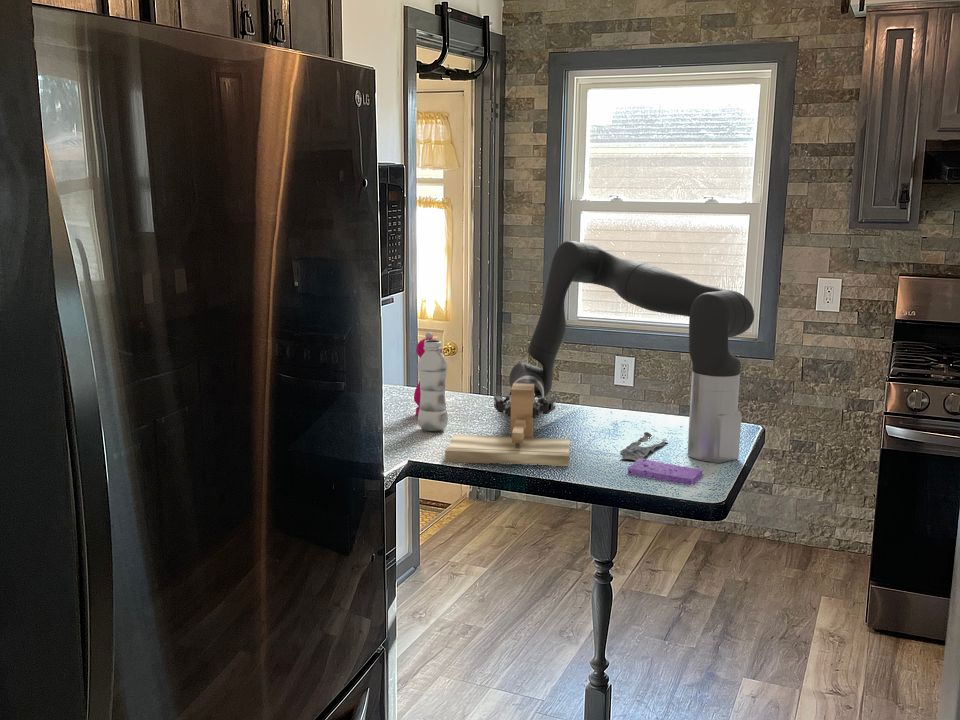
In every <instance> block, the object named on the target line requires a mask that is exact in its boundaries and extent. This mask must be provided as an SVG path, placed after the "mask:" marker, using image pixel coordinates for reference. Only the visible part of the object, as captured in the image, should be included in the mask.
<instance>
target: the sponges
mask: <svg viewBox="0 0 960 720" xmlns="http://www.w3.org/2000/svg"><path fill="white" fill-rule="evenodd" d="M627 475H631V476H635V475H636V477H641V476H642V477H643V478H647V477H650V478H649V479H652V478H655V479H654V480H658V479H659V481H665V482H669V481H671V483H675V482H677V483H676V484H680V483H684V484H683V485H686V484H689V485H688V486H691V485H690V484H694V483H695V484H696V483H697V482H698V481H699V479H700V478H701V477H703V469H700V468H696V467H689V466H682V465H676V464H672V463H666V462H665V463H664V462H662V461H656V460H650V459H645V458H643V459H638V460H637V461H636V460H635V462H633V463H632V464H631V465H629V466H628V467H627ZM695 484H694V485H695Z"/></svg>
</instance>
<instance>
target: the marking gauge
mask: <svg viewBox="0 0 960 720" xmlns="http://www.w3.org/2000/svg"><path fill="white" fill-rule="evenodd" d="M510 391H511V417H510V429H509V430H510V436H509V437H512V443H515V448H520V443H523V438H524V437H528V438H534V431H535V430H534V429H535V428H534V423H535V418H532V413H533V404H534V384H524V383H513V385H512V388H511V387H510Z"/></svg>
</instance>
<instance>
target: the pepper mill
mask: <svg viewBox="0 0 960 720" xmlns="http://www.w3.org/2000/svg"><path fill="white" fill-rule="evenodd" d="M433 337H434V334H433V333H432V332H431V331H427V332H425V338H422V339H421V340H420V341H418V343H417V344H416V354H417V355H418V357H419V358H418V360H417V361H419V360H420V358H421V356H422V355H423V354H424V353H425V350H424V341H426V340H437V339H435V338H433ZM441 347H442V345H441ZM442 348H443V347H442ZM440 352H441V354H442V353H443V349H442V350H440ZM420 390H421V389H420V380H418V383H417V386H416V388H415V390H414V393H413V400H414V402H415V404H416V405H417V407H416V408H415V416H416V417H417V418H418V413H419V409H420V396H421V393H420Z"/></svg>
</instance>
